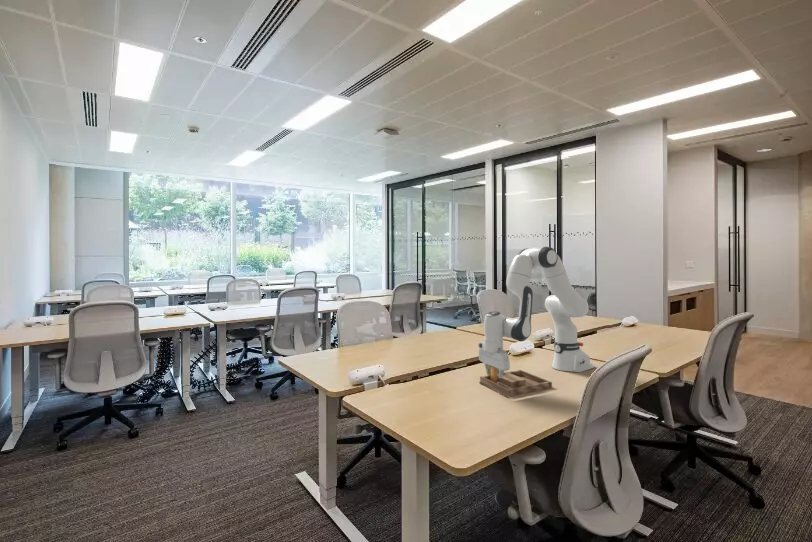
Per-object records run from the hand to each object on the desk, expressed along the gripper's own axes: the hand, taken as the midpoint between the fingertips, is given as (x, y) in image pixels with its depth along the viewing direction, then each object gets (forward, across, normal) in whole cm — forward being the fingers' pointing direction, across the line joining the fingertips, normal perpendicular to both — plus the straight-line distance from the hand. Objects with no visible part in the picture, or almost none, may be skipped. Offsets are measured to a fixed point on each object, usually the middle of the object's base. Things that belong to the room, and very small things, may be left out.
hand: (494, 375), depth 190 cm
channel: (+5, -6, -8) cm, 11 cm away
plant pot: (+5, +12, -8) cm, 15 cm away
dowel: (+4, 0, 0) cm, 4 cm away
